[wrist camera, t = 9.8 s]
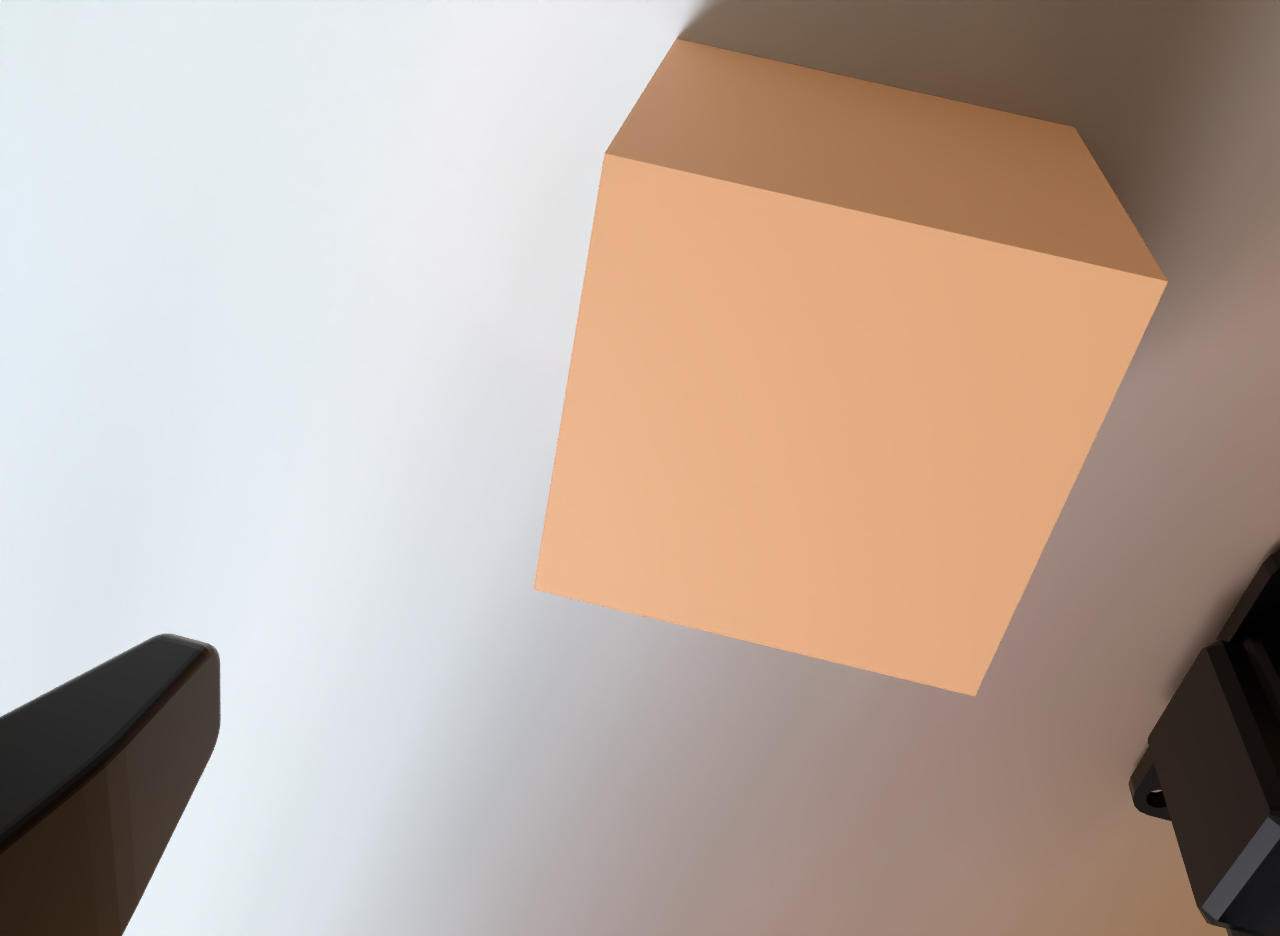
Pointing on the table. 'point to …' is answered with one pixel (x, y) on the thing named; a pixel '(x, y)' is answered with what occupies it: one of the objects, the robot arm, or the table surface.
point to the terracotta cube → (836, 363)
